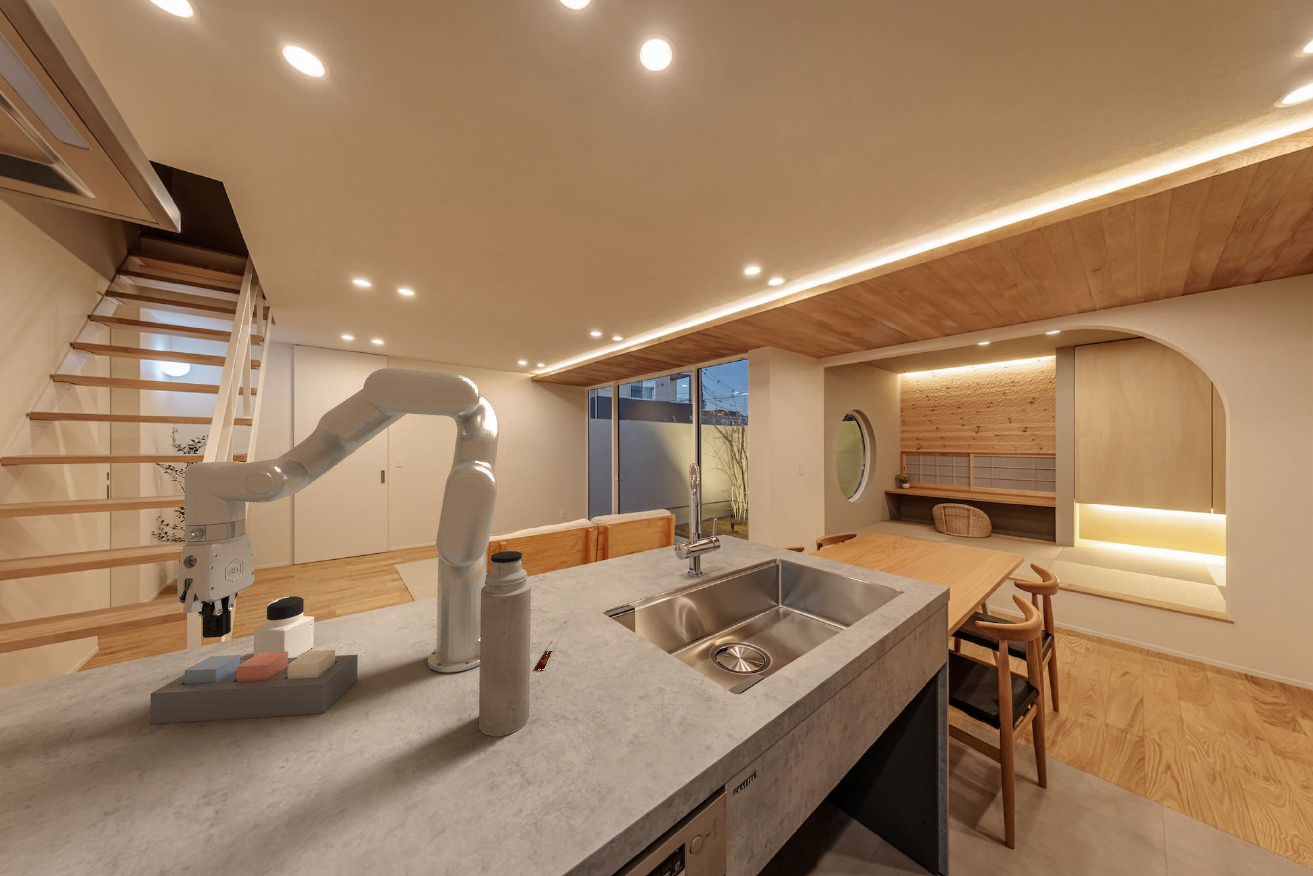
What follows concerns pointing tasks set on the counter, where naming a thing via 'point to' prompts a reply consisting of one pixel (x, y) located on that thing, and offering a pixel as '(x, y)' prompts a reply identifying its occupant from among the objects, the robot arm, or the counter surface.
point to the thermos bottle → (504, 646)
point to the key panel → (253, 695)
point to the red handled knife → (543, 661)
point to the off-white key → (311, 664)
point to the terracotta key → (262, 666)
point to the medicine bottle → (285, 628)
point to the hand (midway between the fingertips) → (216, 635)
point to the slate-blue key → (211, 669)
